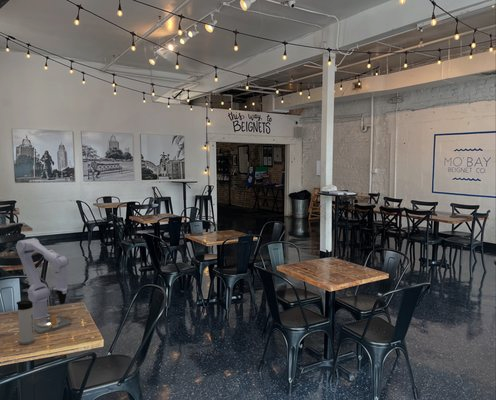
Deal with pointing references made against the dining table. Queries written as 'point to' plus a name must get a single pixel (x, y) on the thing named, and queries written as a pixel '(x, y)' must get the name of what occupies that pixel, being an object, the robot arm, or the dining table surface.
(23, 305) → the travel mug
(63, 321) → the base plate
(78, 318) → the dining table surface
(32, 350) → the dining table surface
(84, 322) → the dining table surface
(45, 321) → the lidded saucepan
